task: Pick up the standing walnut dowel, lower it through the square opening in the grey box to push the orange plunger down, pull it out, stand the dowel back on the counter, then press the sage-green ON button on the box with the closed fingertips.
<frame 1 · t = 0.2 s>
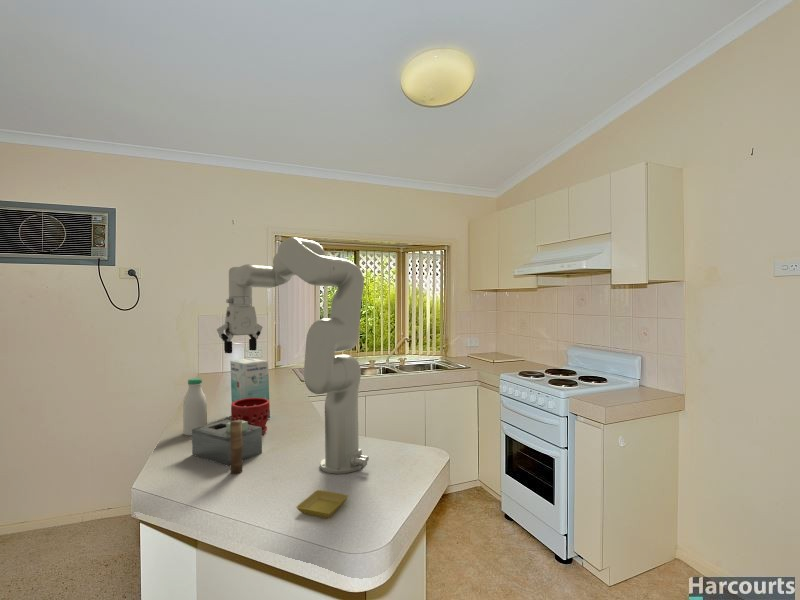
hand: (240, 351, 136), 31 cm above the countertop, tool pointing down, fingers open, 9 cm apart
plant pot: (250, 434, 143), on the countertop
grey box: (227, 453, 123), on the countertop
stylus dowel: (236, 472, 109), on the countertop
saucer: (323, 511, 88), on the countertop
toothbrush box: (250, 417, 166), on the countertop
milk bottle: (195, 433, 145), on the countertop
breaker plunger: (219, 437, 126), point 5 cm above the countertop, slide at 0.0 cm
on button: (237, 430, 121), point 8 cm above the countertop, slide at 0.0 cm
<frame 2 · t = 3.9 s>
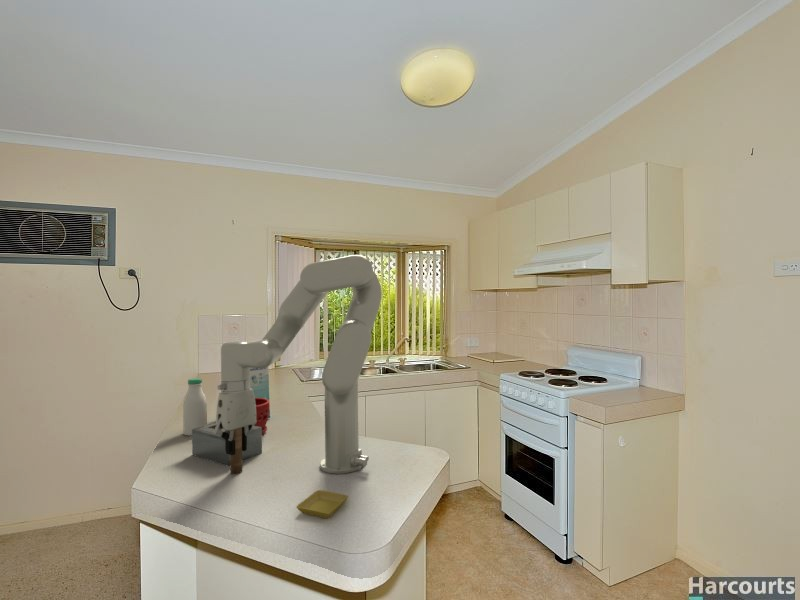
hand: (236, 451, 109), 6 cm above the countertop, tool pointing down, fingers closed on stylus dowel, 3 cm apart
stylus dowel: (236, 472, 109), on the countertop, touching gripper
everything else where it was.
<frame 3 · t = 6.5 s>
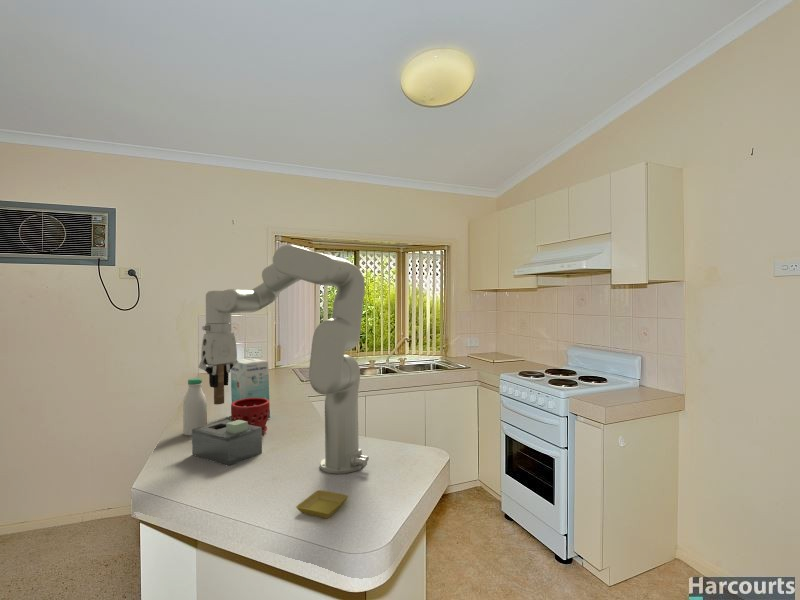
hand: (219, 385, 126), 21 cm above the countertop, tool pointing down, fingers closed on stylus dowel, 3 cm apart
stylus dowel: (219, 403, 126), point 15 cm above the countertop, touching gripper
everything else where it was.
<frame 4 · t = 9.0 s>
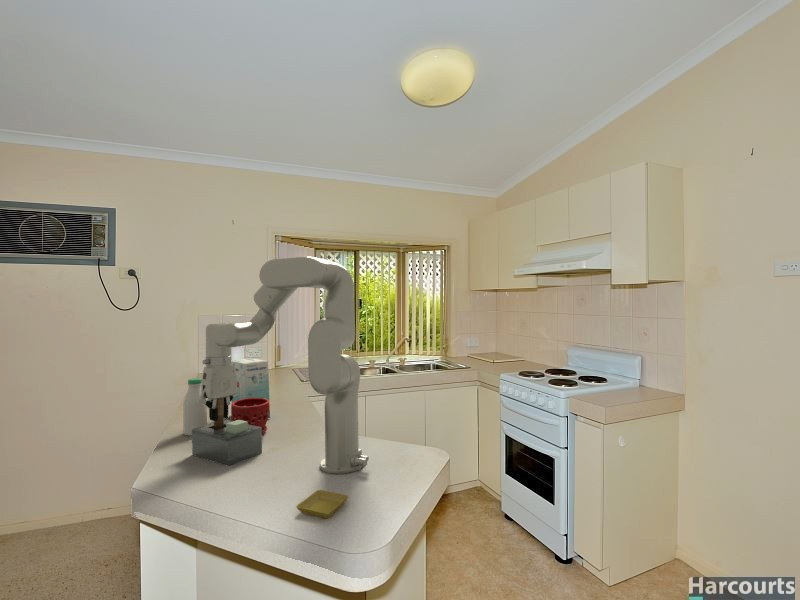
hand: (219, 418, 126), 11 cm above the countertop, tool pointing down, fingers closed on stylus dowel, 3 cm apart
stylus dowel: (218, 436, 126), point 5 cm above the countertop, touching breaker plunger, gripper
breaker plunger: (219, 442, 126), point 3 cm above the countertop, slide at 1.7 cm, touching stylus dowel
everything else where it was.
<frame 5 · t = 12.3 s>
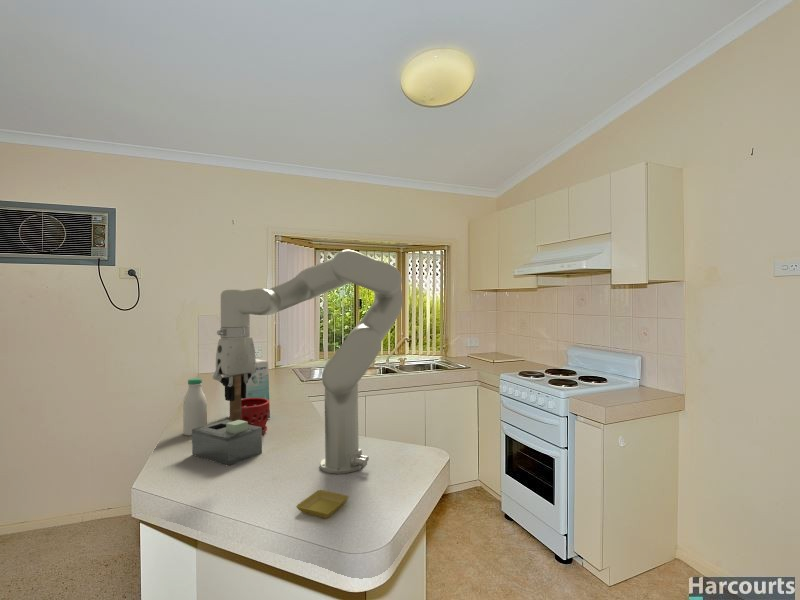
hand: (235, 398, 110), 20 cm above the countertop, tool pointing down, fingers closed on stylus dowel, 3 cm apart
stylus dowel: (235, 418, 110), point 15 cm above the countertop, touching gripper
breaker plunger: (219, 442, 126), point 3 cm above the countertop, slide at 1.8 cm
everything else where it was.
when the fingers open (7 cm above the countertop, at t = 14.9 s): stylus dowel stays where it is, on the countertop.
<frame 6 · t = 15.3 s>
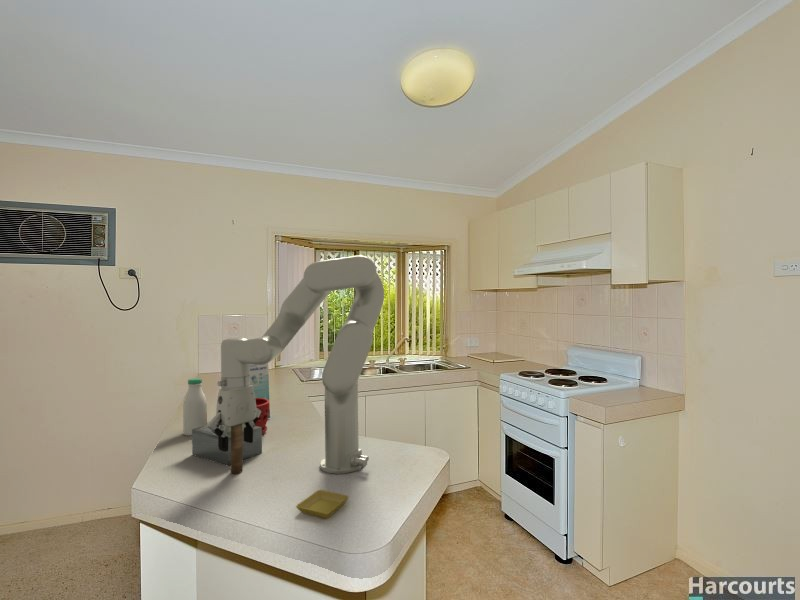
hand: (236, 445, 109), 7 cm above the countertop, tool pointing down, fingers open, 7 cm apart
stylus dowel: (236, 471, 109), on the countertop
everything else where it was.
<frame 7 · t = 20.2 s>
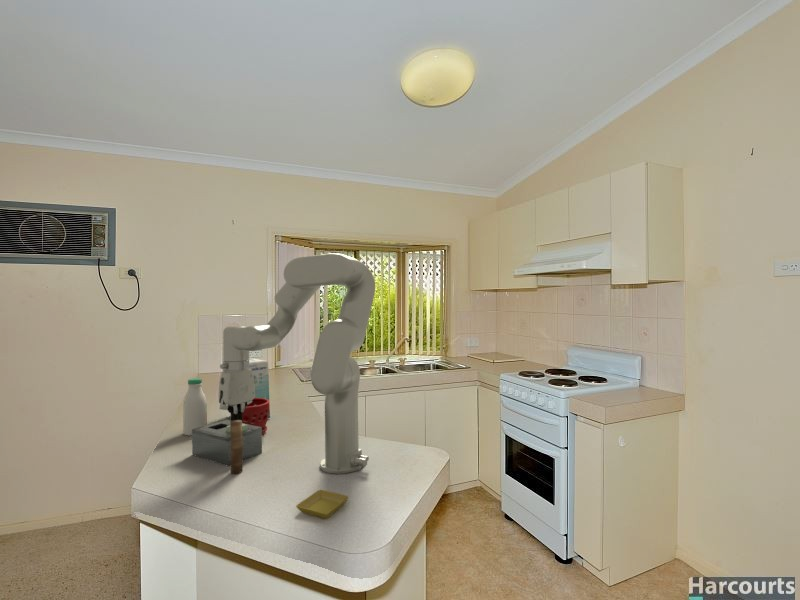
hand: (236, 425, 121), 10 cm above the countertop, tool pointing down, fingers closed
on button: (237, 433, 121), point 7 cm above the countertop, slide at 0.9 cm, touching gripper
everything else where it was.
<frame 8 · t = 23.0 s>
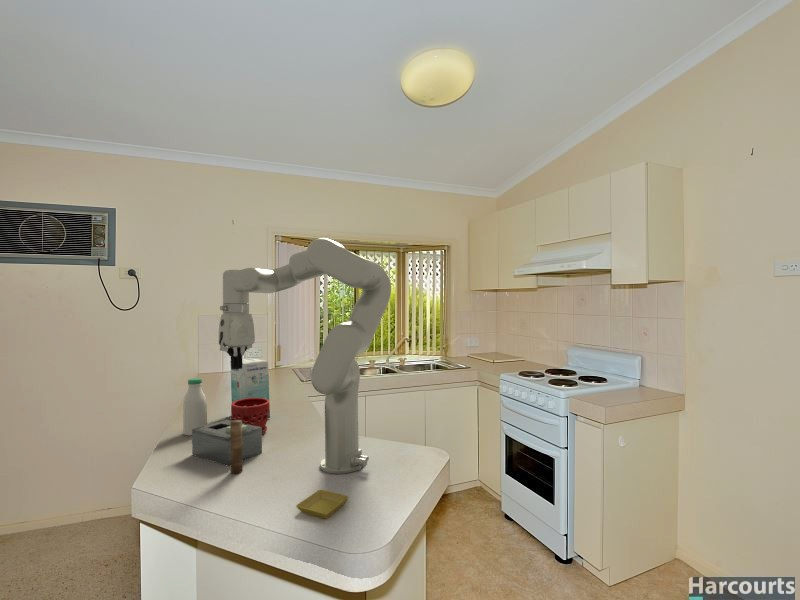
hand: (236, 368, 121), 27 cm above the countertop, tool pointing down, fingers closed
on button: (237, 434, 121), point 7 cm above the countertop, slide at 1.3 cm
everything else where it was.
at the end: breaker plunger slide at 1.8 cm; on button slide at 1.3 cm; stylus dowel tilted 0° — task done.
